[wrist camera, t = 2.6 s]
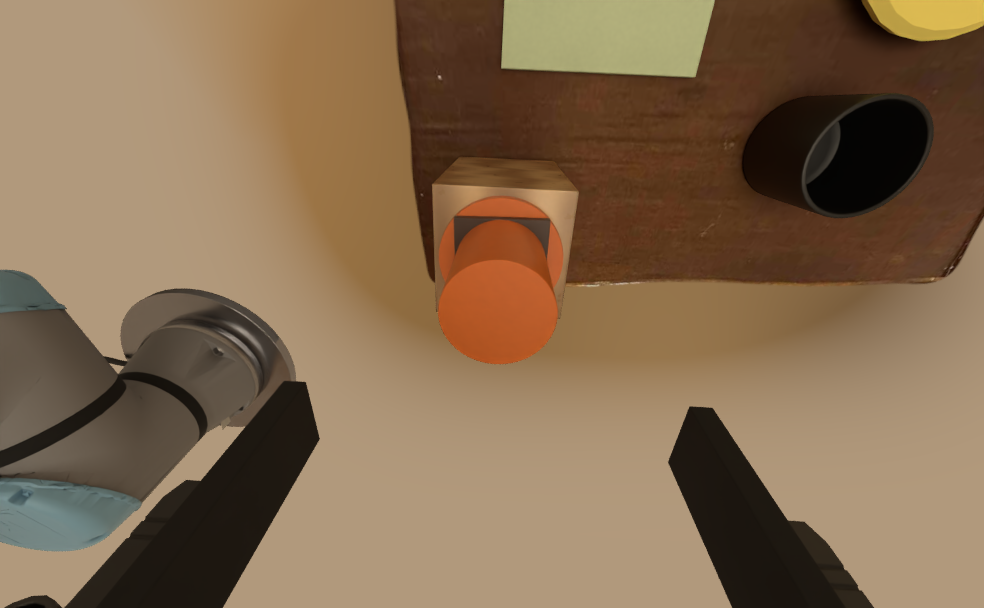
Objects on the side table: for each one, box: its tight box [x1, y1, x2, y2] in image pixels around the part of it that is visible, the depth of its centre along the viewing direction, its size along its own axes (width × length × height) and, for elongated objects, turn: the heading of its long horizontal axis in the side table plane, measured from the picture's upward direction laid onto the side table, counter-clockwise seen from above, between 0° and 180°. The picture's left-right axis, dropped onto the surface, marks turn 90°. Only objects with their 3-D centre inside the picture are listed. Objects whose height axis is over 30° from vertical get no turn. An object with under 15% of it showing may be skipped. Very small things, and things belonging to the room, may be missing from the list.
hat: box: [438, 196, 563, 364], centre depth 24 cm, size 9×9×9 cm
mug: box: [743, 93, 934, 218], centre depth 34 cm, size 9×12×9 cm
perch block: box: [432, 156, 579, 319], centre depth 35 cm, size 10×10×16 cm
